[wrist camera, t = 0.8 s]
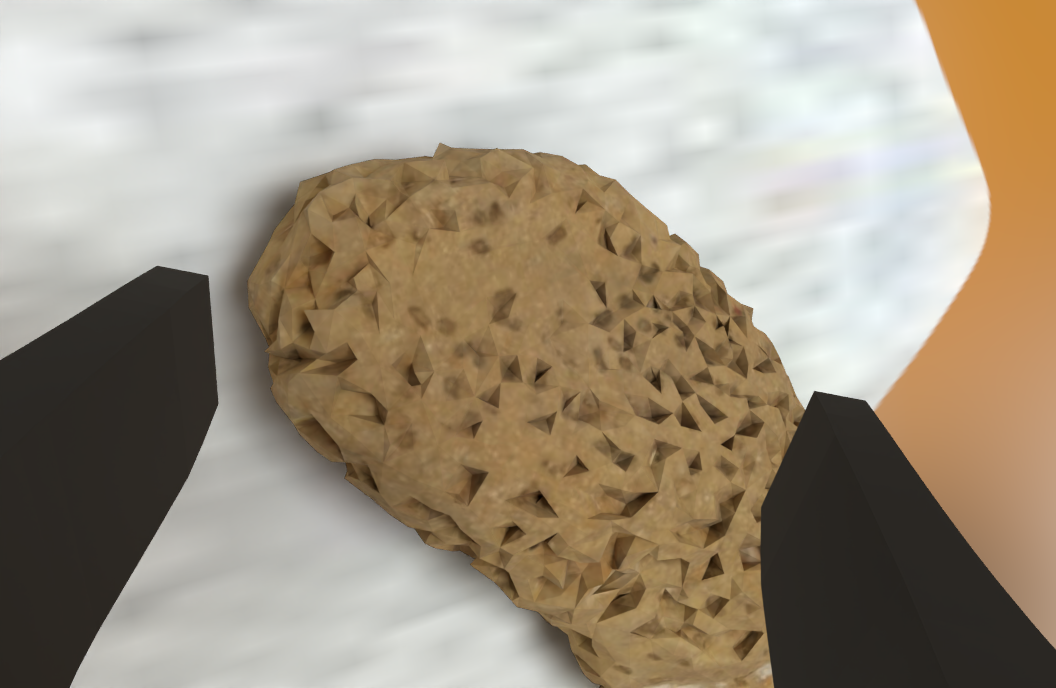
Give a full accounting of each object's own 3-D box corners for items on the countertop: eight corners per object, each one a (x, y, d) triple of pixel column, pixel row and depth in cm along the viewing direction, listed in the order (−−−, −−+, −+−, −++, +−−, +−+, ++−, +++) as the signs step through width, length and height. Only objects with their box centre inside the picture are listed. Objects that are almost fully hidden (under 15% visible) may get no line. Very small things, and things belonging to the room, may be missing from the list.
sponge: (765, 499, 36) (607, -12, 26) (926, 622, 30) (800, 1, 19) (474, 704, 33) (165, 218, 23) (581, 889, 27) (217, 328, 17)
